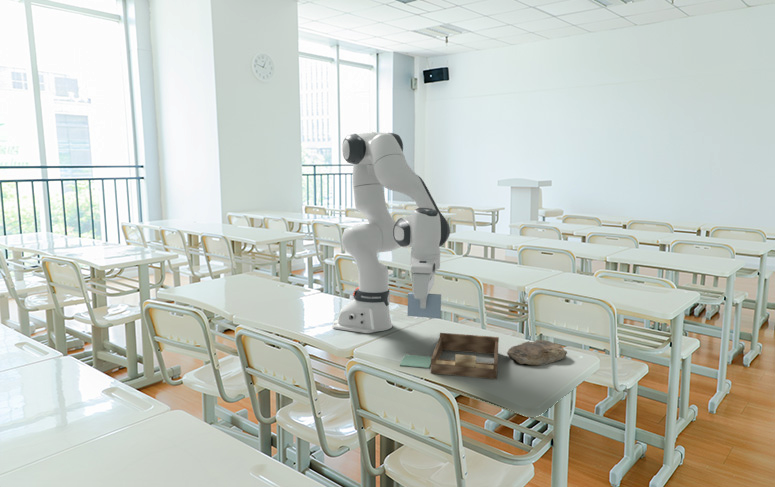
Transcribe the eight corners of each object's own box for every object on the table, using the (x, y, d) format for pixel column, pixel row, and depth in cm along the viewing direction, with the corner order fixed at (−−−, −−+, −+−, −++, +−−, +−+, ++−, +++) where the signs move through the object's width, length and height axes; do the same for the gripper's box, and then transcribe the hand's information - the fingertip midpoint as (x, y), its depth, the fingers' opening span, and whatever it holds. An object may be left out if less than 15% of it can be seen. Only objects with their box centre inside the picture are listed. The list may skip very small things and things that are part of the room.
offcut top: (455, 366, 160) (455, 357, 159) (455, 362, 163) (455, 354, 162) (475, 367, 159) (476, 359, 158) (475, 363, 162) (476, 355, 161)
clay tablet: (523, 371, 163) (573, 360, 172) (523, 355, 163) (573, 345, 171) (494, 357, 176) (542, 347, 184) (494, 342, 175) (542, 333, 184)
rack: (430, 373, 160) (431, 355, 159) (439, 348, 181) (440, 332, 181) (496, 379, 156) (497, 360, 155) (498, 353, 177) (498, 337, 176)
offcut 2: (472, 375, 160) (472, 367, 159) (472, 371, 162) (473, 363, 162) (493, 377, 158) (493, 368, 158) (493, 373, 161) (493, 365, 161)
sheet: (407, 315, 167) (408, 293, 166) (408, 314, 169) (409, 292, 168) (439, 318, 166) (440, 296, 164) (440, 316, 167) (441, 294, 166)
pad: (399, 365, 166) (399, 364, 166) (405, 355, 174) (405, 354, 174) (429, 368, 164) (429, 367, 164) (433, 358, 172) (433, 356, 172)
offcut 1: (435, 371, 162) (435, 363, 162) (436, 367, 165) (436, 360, 165) (455, 373, 161) (455, 365, 160) (456, 369, 164) (456, 361, 163)
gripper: (419, 255, 175) (418, 297, 178) (409, 268, 156) (408, 314, 158) (439, 256, 174) (438, 298, 176) (431, 269, 154) (430, 316, 157)
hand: (424, 306), depth 167 cm, fingers closed on sheet, 2 cm apart
